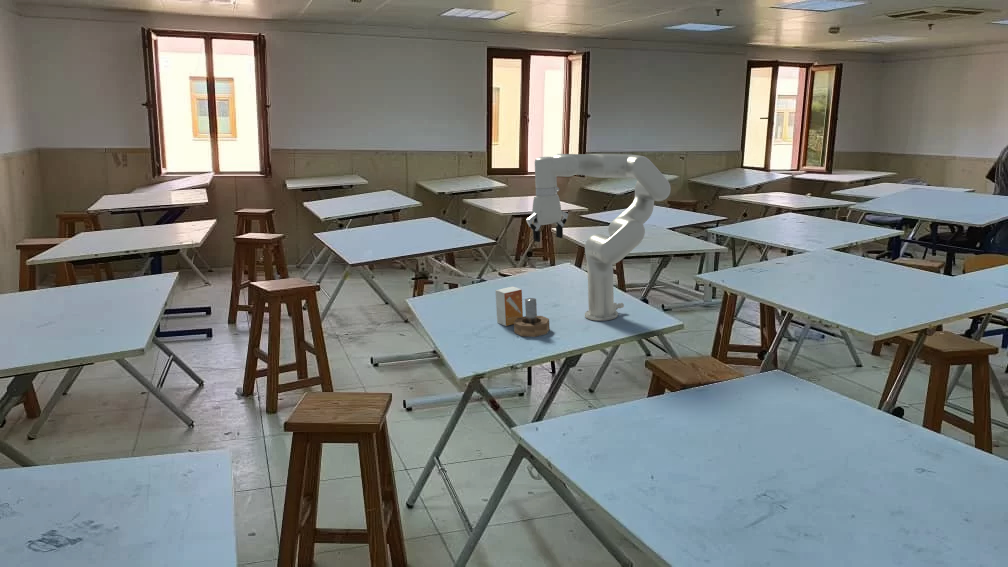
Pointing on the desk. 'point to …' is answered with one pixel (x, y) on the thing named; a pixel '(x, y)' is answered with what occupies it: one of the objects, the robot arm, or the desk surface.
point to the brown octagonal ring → (531, 327)
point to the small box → (508, 305)
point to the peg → (531, 310)
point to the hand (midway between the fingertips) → (548, 239)
